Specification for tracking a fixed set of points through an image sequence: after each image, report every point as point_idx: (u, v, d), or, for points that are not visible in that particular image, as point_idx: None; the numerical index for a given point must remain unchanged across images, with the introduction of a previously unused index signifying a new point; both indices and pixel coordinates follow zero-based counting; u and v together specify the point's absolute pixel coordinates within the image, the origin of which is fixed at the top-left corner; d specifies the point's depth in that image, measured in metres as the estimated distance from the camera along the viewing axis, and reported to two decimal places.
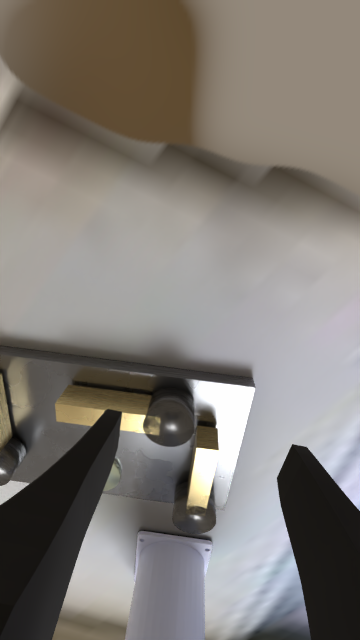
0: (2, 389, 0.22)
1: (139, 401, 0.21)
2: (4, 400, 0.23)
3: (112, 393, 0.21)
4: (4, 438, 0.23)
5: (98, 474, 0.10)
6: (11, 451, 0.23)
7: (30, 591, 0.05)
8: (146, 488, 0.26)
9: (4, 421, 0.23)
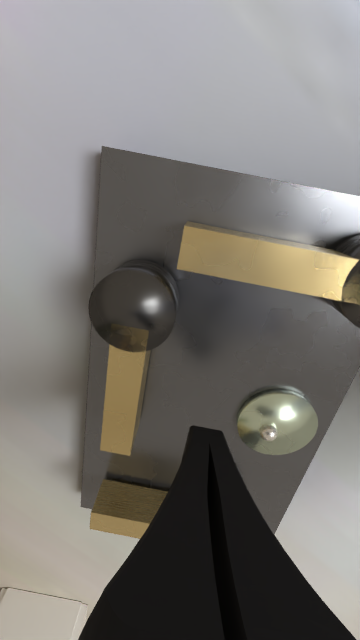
0: (121, 485, 0.19)
1: None
2: (138, 489, 0.19)
3: None
4: None
5: None
6: None
7: None
8: (331, 358, 0.15)
9: (163, 499, 0.18)
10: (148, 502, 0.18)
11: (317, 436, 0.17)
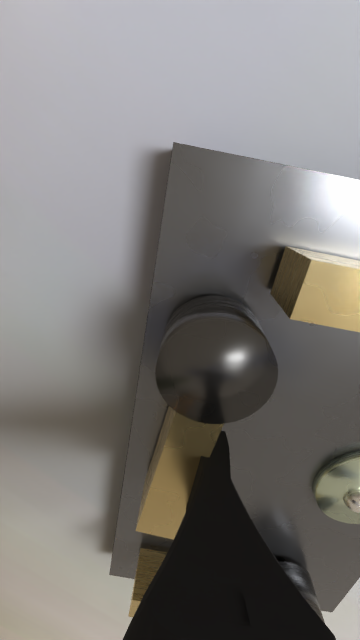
0: (163, 556, 0.15)
1: None
2: None
3: (160, 433, 0.12)
4: None
5: None
6: None
7: None
8: None
9: None
10: None
11: None
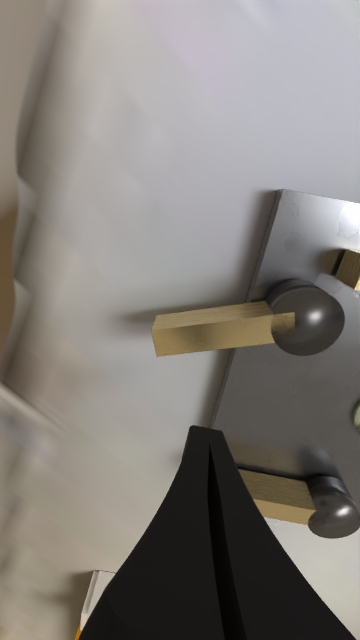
0: (240, 471, 0.21)
1: (254, 307, 0.16)
2: (254, 474, 0.21)
3: (215, 309, 0.16)
4: (300, 491, 0.21)
5: None
6: (319, 492, 0.20)
7: None
8: None
9: (279, 483, 0.21)
10: (267, 485, 0.21)
11: None
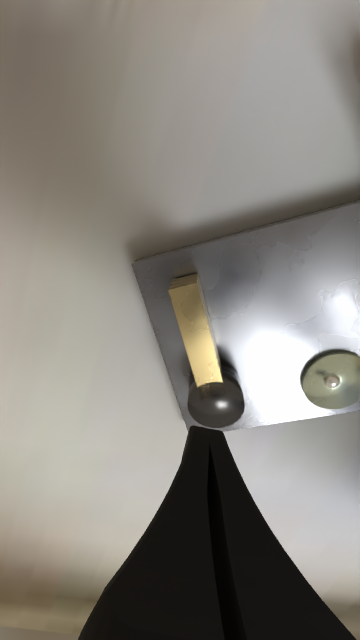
0: (203, 295, 0.17)
1: None
2: (207, 311, 0.18)
3: None
4: (219, 361, 0.18)
5: None
6: (231, 376, 0.18)
7: None
8: None
9: (214, 339, 0.18)
10: (210, 328, 0.17)
11: (330, 411, 0.20)
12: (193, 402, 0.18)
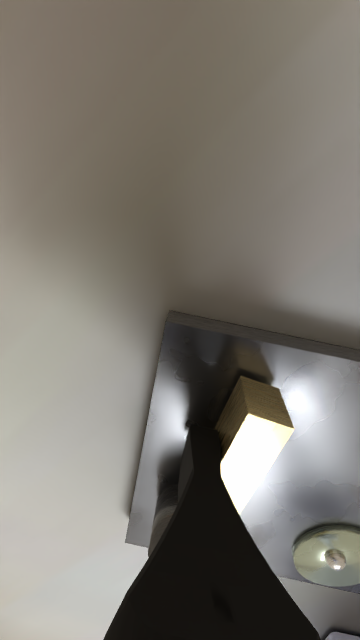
0: None
1: None
2: None
3: None
4: None
5: None
6: None
7: None
8: None
9: None
10: None
11: (307, 578, 0.16)
12: None
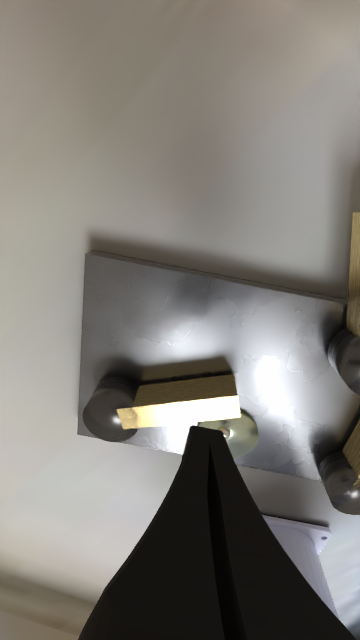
0: None
1: None
2: None
3: None
4: None
5: None
6: None
7: None
8: (282, 458, 0.21)
9: None
10: None
11: None
12: (113, 402, 0.17)
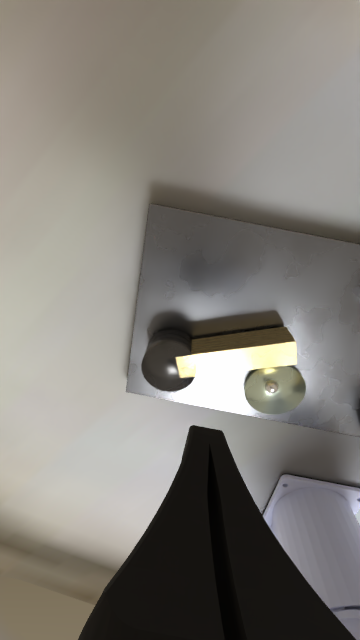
0: None
1: None
2: None
3: None
4: None
5: None
6: None
7: None
8: (326, 414, 0.22)
9: None
10: None
11: (257, 413, 0.22)
12: (173, 350, 0.18)
